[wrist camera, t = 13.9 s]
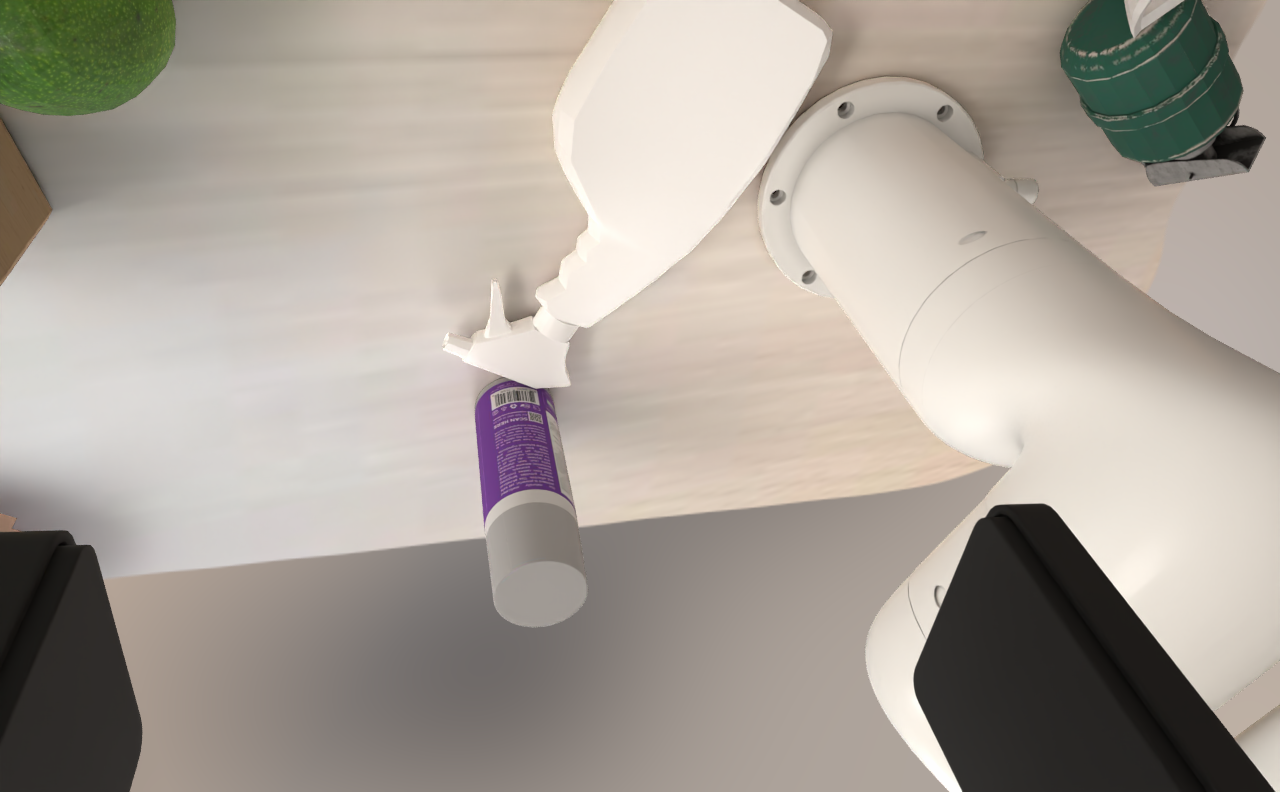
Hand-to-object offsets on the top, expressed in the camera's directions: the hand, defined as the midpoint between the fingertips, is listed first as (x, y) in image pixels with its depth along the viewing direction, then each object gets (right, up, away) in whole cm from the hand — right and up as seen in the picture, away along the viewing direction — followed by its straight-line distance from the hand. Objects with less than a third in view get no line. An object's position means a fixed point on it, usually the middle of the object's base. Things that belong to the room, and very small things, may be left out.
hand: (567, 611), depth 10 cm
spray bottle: (-1, +13, +39) cm, 42 cm away
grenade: (+23, +21, +35) cm, 47 cm away
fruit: (-22, +20, +30) cm, 42 cm away
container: (-7, +2, +46) cm, 47 cm away
